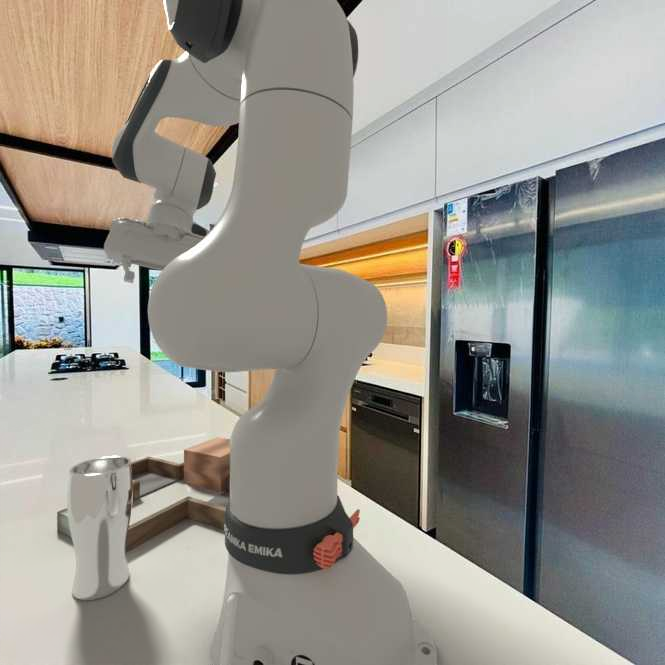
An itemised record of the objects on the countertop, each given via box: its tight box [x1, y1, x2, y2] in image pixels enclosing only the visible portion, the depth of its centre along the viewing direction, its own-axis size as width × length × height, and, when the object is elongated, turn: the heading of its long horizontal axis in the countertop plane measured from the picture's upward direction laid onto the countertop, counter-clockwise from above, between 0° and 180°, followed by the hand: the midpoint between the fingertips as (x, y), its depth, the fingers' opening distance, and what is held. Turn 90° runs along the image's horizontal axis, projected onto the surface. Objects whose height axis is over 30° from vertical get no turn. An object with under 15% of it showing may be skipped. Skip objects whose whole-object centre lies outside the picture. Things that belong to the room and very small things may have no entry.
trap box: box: [56, 456, 230, 553], centre depth 70 cm, size 35×33×3 cm
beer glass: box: [66, 455, 134, 601], centre depth 46 cm, size 7×7×15 cm
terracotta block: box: [183, 436, 230, 493], centre depth 79 cm, size 10×10×7 cm
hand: (154, 286), depth 73 cm, fingers open, 8 cm apart
